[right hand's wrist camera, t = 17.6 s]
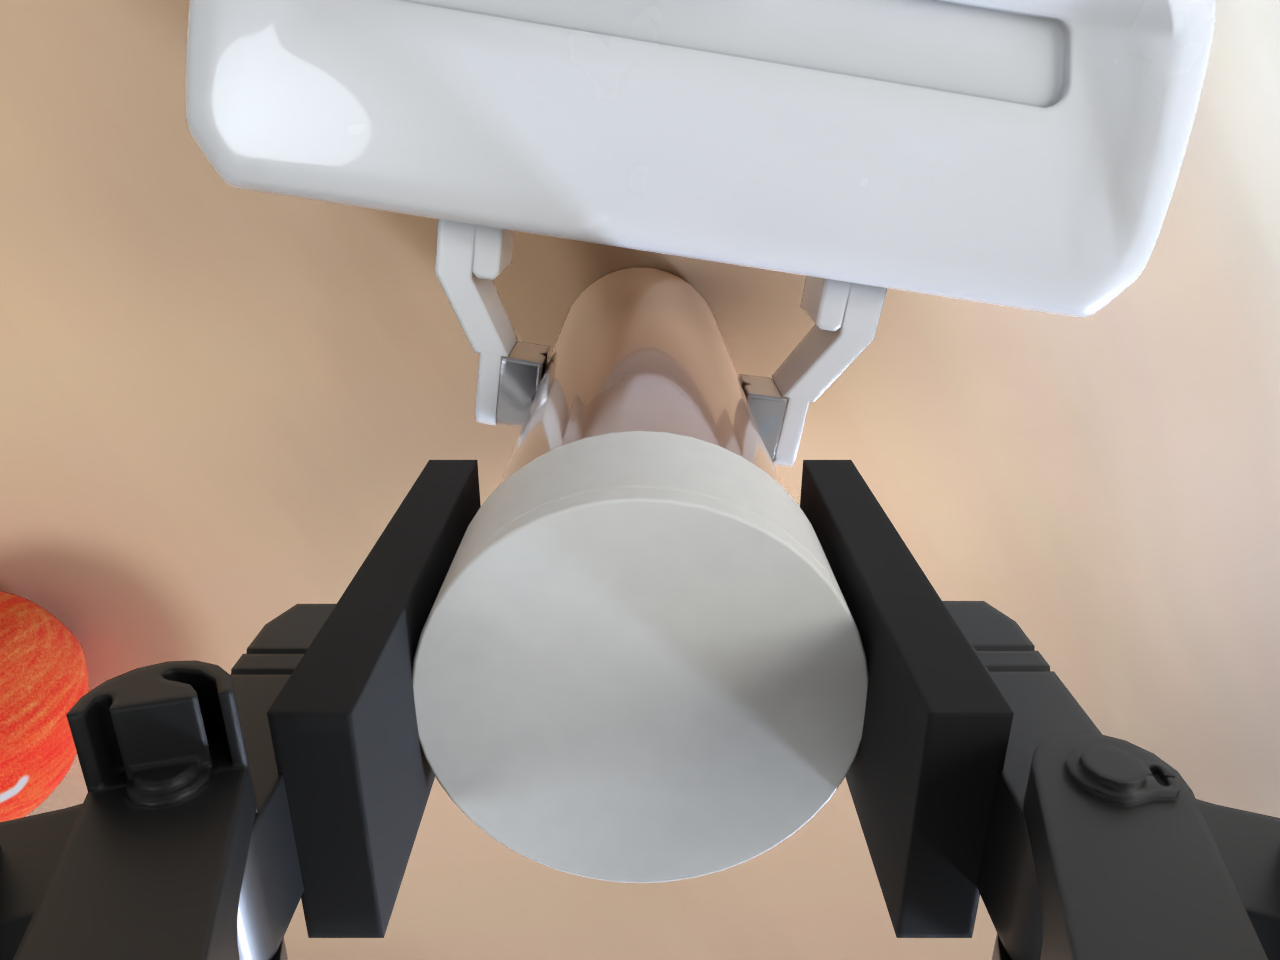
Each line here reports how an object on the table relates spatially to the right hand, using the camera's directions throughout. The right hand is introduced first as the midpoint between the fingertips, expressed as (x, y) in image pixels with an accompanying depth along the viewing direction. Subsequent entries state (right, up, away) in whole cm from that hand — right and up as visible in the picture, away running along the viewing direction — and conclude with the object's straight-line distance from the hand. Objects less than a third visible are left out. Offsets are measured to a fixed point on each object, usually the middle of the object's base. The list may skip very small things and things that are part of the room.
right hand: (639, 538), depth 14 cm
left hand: (0, +2, +7) cm, 8 cm away
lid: (0, -2, -4) cm, 4 cm away
